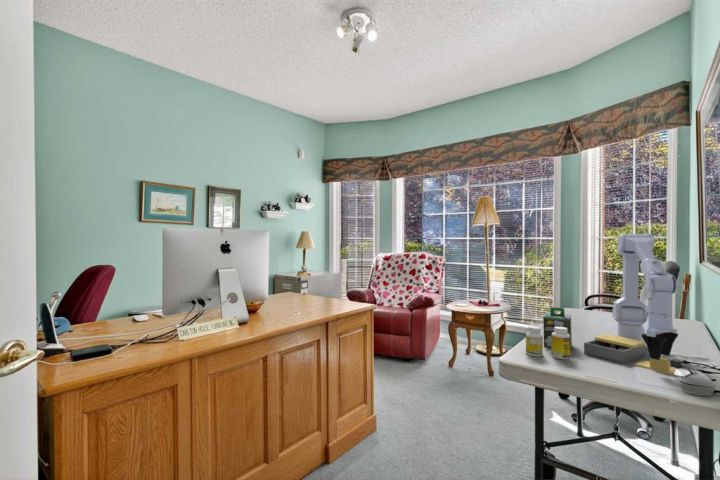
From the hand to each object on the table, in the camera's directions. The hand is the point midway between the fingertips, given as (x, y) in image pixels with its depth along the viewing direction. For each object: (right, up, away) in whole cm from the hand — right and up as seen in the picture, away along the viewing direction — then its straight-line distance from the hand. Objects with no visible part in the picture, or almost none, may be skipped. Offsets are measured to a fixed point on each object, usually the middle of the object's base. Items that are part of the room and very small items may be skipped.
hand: (660, 356), depth 108 cm
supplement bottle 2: (-24, -4, +11) cm, 27 cm away
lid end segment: (+2, -5, +1) cm, 5 cm away
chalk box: (-17, -5, +26) cm, 31 cm away
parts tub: (-3, -4, +15) cm, 16 cm away
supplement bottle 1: (-32, -4, +14) cm, 35 cm away
